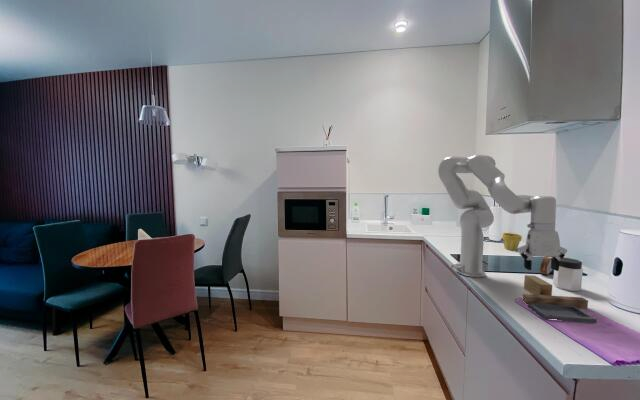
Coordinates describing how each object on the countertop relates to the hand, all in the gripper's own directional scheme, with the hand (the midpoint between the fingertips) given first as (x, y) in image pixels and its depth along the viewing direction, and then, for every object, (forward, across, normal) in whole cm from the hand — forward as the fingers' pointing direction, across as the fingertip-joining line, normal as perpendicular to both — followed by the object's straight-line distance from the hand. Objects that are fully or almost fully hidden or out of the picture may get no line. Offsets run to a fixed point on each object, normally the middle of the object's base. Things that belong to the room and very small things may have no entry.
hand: (541, 269), depth 105 cm
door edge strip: (+11, -1, -9) cm, 14 cm away
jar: (+11, +16, +10) cm, 22 cm away
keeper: (+11, -4, -16) cm, 20 cm away
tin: (+10, +20, +28) cm, 36 cm away
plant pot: (+9, +27, +73) cm, 78 cm away
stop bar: (+11, -1, +1) cm, 11 cm away
